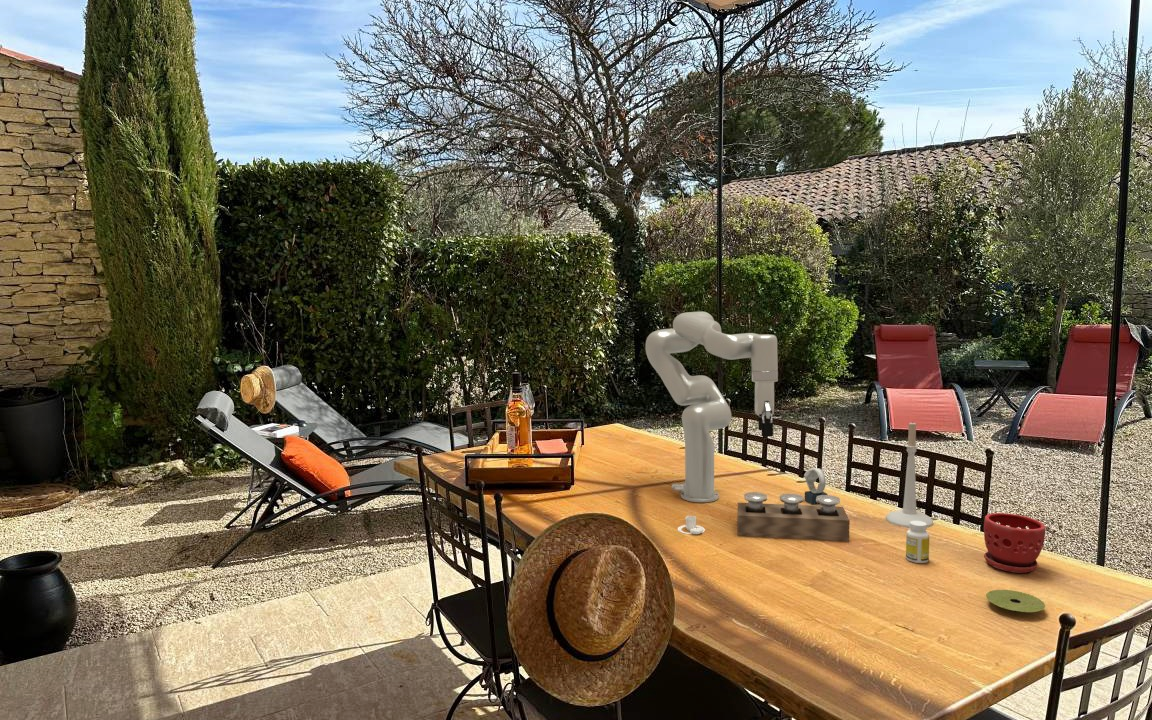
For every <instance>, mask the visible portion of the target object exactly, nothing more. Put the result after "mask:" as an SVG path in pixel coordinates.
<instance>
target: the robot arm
mask: <svg viewBox="0 0 1152 720" xmlns="http://www.w3.org/2000/svg"><path fill="white" fill-rule="evenodd" d="M698 345H702V346H703V347H704V349H705V350H706V351H707V352H708V353H709V354H711V355H713V356H716V357H719V358H721V359H724V360H728V361H729V360H730V361H731V360H739V359H749V358H750V359H751V363H750V364H751V382H753V383H754V384H755V385H754V413H755V414H756V415H757V416H758V420H757V421H758V430H759V431H761V437H764V438H765V437H767V438H768V437H774V422H773V415H775V383H776V382H778V381H779V378H778V377H779V371H778V369H779V367H778V366H779V365H778V363H779V362H778V338H777V335H775V334H769V333H768V334H759V333H753V332H745V333H735V334H728V333H723V332H722V327H721V325H720V323H719V322H718V321H716V320H715V319H714V317H713V316H712V315H711V314H710V313H708V312H706V311H691V312H690V311H689V312H682V313H679V314H678V315H676V317H674V319H673V323H672V328H664V329H663V328H662V329H657V330H655V331H652V332H651V333H650V334H649V335H648V336H647V337H646V340H645V354H646V356H647V359H648V361H649V364H650V365H651V367H652V368H653V369H654V370H655V371H656V373H657V375H659V377H660V378H661V380H662V381H663V384H664V386H665V387H666V389H667V391H668V393H669V394H670V396H671V397H672V400H673V401H674V403H676V404H677V405H678V406H679V405H680V406H681V407H682V406H687V407H686V408H684V410H683V412H682V414H681V423H682V424H681V425H682V428H683V433H684V458H685V459H684V466H685V467H684V473H685V474H684V480H685V481H684V483H683V482H682V483H680V484H678V483H671V490H672V491H673V490H674V492H680V498H681V499H683V501H688V502H691V503H711V502H712V503H713V502H715V501H717V500H718V499H719V498H720V494H719V492H717V491H716V490H715V444H714V439H712V436H711V434H710V432H711V431H716V430H720V429H721V430H722V429H725V428H726V427H728V426H729V425H730V424H731V421H732V411H731V408H730V406H729V404H728V403H727V401H726V399H725V397H724V396H723V395H722V393H721V392H720V390H719V388H718V387H717V385H716V383H715V382H714V381H713V380H712V379H711V378H710V377H709V376H706V375H703V374H701V375H698V374H697V375H690V374H689V373H688V371H687V370H686V369H685V367H684V365H683V364H682V363H681V362H680V361H679V360H678V359H677V358H675V357H674V356H672V355H671V354H676V353H686V352H689V351H691V350H692V349H694V348H696V347H697V346H698Z"/></svg>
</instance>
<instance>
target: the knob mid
mask: <svg viewBox="0 0 1152 720" xmlns="http://www.w3.org/2000/svg"><path fill="white" fill-rule="evenodd" d="M779 501H781V502H782V503H783V504H784V514H799V505H800V504H803V503H804V497H803V495H801V494H798V493H797V494H796V493H783V494H780V495H779Z"/></svg>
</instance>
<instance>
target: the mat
mask: <svg viewBox="0 0 1152 720" xmlns="http://www.w3.org/2000/svg"><path fill="white" fill-rule="evenodd" d="M985 597H986V599H987V600H988V601H989V602H990V603H992V604H993V605H995V606H997V607H1000V608H1002V609H1006V610H1009V611H1016V612H1021V613H1036V612H1040V611H1044V609H1045V608H1046V604H1045V602H1044V601H1043V600H1041V599H1040V598H1038V597H1036V596H1034V595H1032V594H1029V593H1026V592H1023V591H1019V590H1018V591H1017V590H1012V589H995V590H994V589H993V590H989V591H987V593H986V594H985Z"/></svg>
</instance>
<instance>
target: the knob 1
mask: <svg viewBox="0 0 1152 720" xmlns="http://www.w3.org/2000/svg"><path fill="white" fill-rule="evenodd" d="M743 497H744V498H743V499H744V500H745V501H747V503H748V512H751V513H763V504H764V502H766V501H767V500H768V495H767V494H766V493H763V492H756V491H755V492H754V491H753V492H752V491H751V492H746V493H744V495H743Z"/></svg>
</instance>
